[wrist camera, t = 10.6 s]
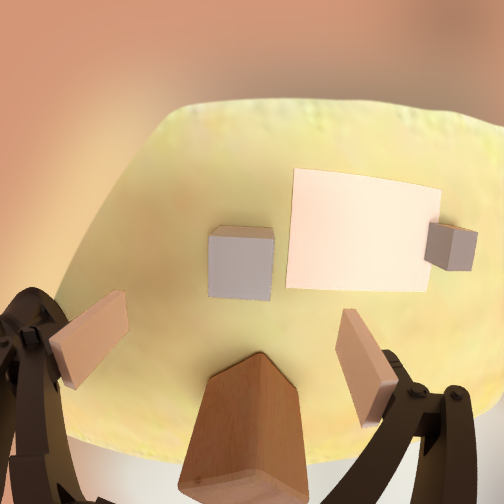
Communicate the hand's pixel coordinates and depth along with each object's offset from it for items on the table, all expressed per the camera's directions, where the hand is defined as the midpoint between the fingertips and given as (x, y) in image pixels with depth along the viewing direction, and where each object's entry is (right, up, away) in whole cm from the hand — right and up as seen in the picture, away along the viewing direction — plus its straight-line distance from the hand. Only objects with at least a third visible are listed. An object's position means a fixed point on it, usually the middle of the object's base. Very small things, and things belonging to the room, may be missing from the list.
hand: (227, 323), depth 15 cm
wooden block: (+2, -15, +22) cm, 27 cm away
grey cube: (+27, +5, +15) cm, 31 cm away
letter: (+16, +6, +16) cm, 23 cm away
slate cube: (+1, +4, +17) cm, 18 cm away
